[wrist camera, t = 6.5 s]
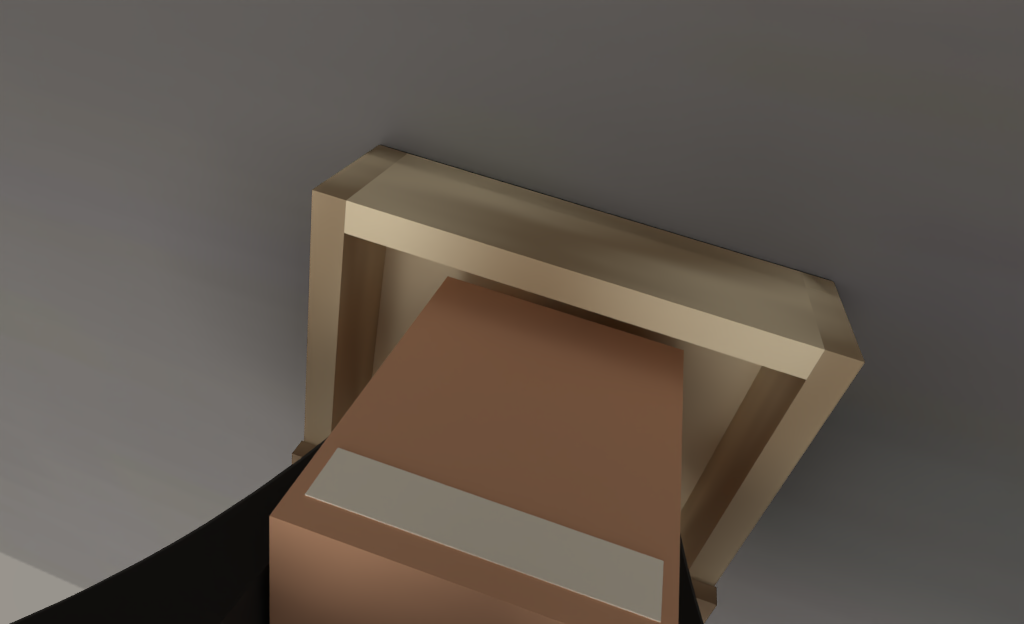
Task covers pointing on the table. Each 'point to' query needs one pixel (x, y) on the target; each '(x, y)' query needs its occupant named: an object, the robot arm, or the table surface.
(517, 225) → the light wooden tray
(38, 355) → the table surface
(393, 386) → the brown cardboard box
